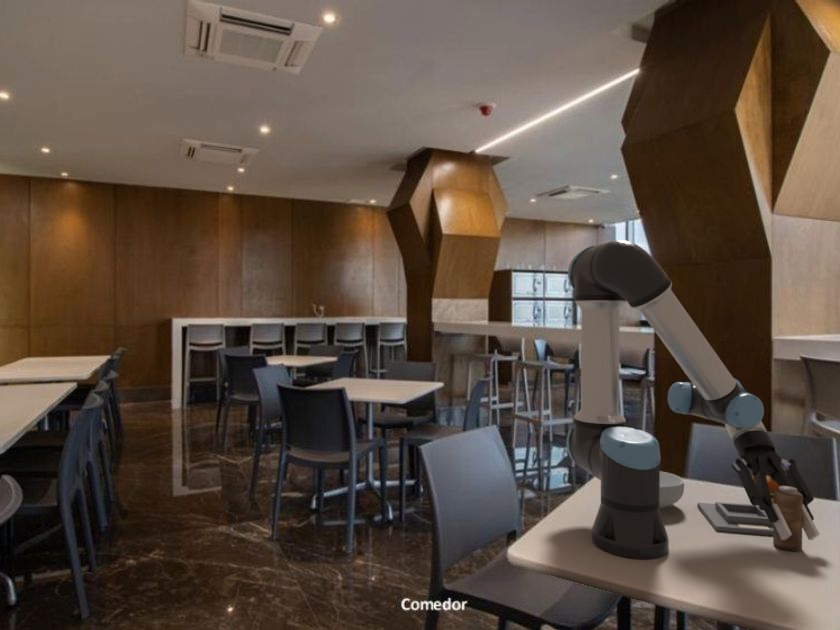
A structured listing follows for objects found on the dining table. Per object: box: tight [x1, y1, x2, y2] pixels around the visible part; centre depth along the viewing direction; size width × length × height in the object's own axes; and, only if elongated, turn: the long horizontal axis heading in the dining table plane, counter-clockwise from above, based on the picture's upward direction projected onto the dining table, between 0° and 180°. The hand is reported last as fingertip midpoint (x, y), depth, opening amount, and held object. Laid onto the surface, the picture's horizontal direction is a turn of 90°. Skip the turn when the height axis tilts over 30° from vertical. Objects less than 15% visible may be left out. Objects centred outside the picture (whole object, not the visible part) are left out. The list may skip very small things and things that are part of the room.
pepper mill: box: [772, 486, 803, 552], centre depth 115 cm, size 5×5×12 cm
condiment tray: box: [697, 501, 773, 536], centre depth 130 cm, size 16×16×2 cm
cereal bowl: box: [659, 470, 685, 510], centre depth 141 cm, size 17×17×7 cm
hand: (800, 537), depth 111 cm, fingers closed on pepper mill, 5 cm apart
